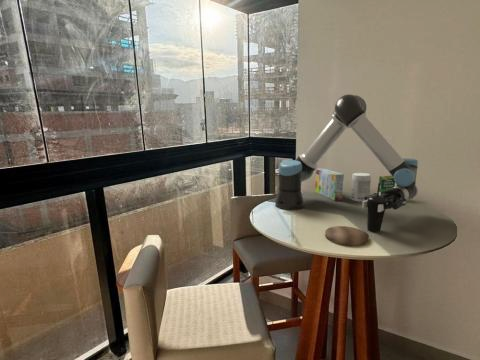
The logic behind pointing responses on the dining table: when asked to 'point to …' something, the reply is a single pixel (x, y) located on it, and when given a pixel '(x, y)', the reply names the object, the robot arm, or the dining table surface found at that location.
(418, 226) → the dining table surface
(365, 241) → the coaster board
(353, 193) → the supplement tub
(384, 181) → the coffee box
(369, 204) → the drinking cup
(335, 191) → the snack box
